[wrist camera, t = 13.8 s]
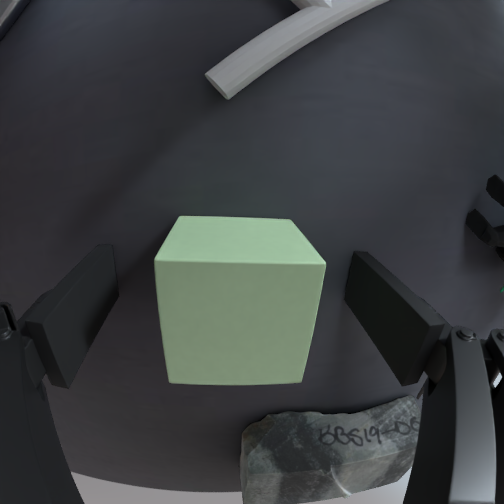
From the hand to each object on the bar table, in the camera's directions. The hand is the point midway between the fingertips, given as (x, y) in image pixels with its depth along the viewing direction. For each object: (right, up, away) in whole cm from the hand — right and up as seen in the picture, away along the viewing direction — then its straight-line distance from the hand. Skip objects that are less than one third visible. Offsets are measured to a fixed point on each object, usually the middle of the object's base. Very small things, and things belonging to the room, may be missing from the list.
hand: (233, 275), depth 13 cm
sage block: (0, 0, 0) cm, 0 cm away
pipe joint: (+5, +11, -4) cm, 12 cm away
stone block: (+7, -14, +6) cm, 17 cm away
